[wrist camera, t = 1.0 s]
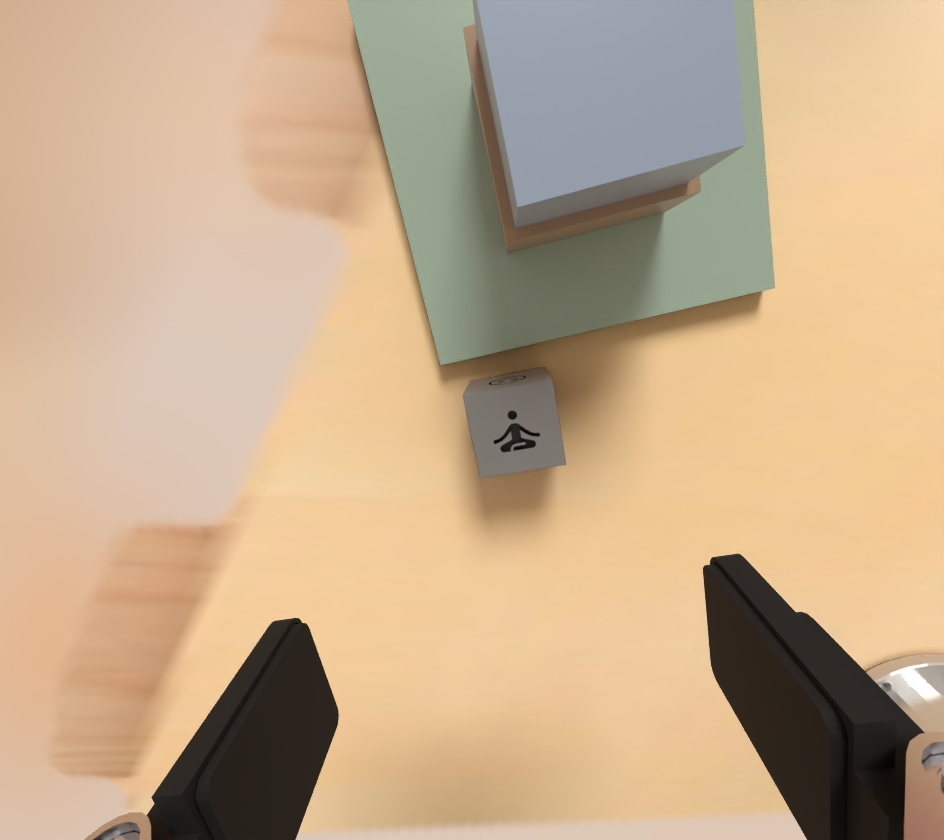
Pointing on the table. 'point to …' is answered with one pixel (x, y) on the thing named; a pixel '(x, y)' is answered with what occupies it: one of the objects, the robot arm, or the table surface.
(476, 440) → the dice cube
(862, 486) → the table surface
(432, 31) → the stepped block pyramid
